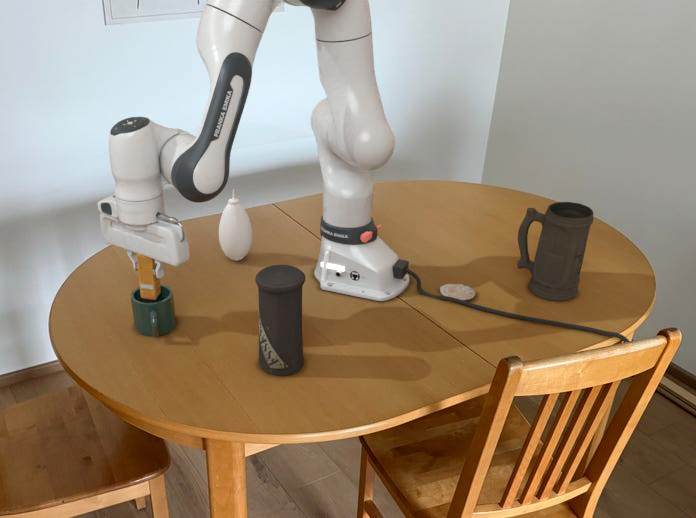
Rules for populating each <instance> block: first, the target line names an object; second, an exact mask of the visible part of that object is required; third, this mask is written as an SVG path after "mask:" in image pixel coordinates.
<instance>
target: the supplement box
mask: <svg viewBox="0 0 696 518" xmlns="http://www.w3.org/2000/svg"><path fill="white" fill-rule="evenodd" d="M137 263H138V271H137V272H138V273H137V274H138V283H139V287H140V293H141V298H144V299H152V300H156V298H157V297H158V296H159V294H160V293H161V289H160V284H161V278H160V279H159V278H156V277H154V276H153V272H152V269H154V268H156V266H157V264H156V263H155V259H152V258H149V257H146V256H143V255H141V254H138V253H137Z"/></svg>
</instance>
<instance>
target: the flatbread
mask: <svg viewBox="0 0 696 518" xmlns="http://www.w3.org/2000/svg"><path fill="white" fill-rule="evenodd" d="M439 292H440V294H441V296H448V297H453V298H457V299H460V300H463V301H468V300H472V299H474V298H475V297H476V290H475V289H474V288H472V287H470V285H466V284H464V283H446V284H444V285H441V286H440V287H439Z"/></svg>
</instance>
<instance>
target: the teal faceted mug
mask: <svg viewBox="0 0 696 518" xmlns="http://www.w3.org/2000/svg"><path fill="white" fill-rule="evenodd" d="M160 289H161V293H160V294H159V296H158V297H157V298H156V300H152V299H144V298H141V293H140V286H139V287H136V288H135V289H133V290H132V291H131V293H130V303H131V308H132V316H133V322H134V327H135V330H136V331H137V333H139V334H141V335H143V336H147V337H153V338H155V339H156V338H159V337H160V336H163V335H166V334H168V333H170V332H172V331H173V330H174V329H175V328H176V326H177V319H176V310H175V302H174V301H175V299H174V293H173V292H174V291H173V289H172V288H171V287H170V286H167V285H165V284H161V283H160Z"/></svg>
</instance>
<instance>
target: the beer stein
mask: <svg viewBox="0 0 696 518" xmlns="http://www.w3.org/2000/svg"><path fill="white" fill-rule="evenodd" d="M534 222H538V223H540V224H541V232H540V235H539V237H538V242H537V247H536V251H535V256H534V260H533V261H532V260H531V259H530V254H529V243H528V242H529V241H528V235H529V229H530V226H531V224H533V223H534ZM593 223H594V211H593V209H592V208H591V207H589V206H587V205H585V204H582V203H580V202H571V201H558V202H557V201H556V202H552V203H551V204H549V205H548V206H547V209H546V211H545V212H544V213H542V212H540V211H538V210H537V209H536V208H535V207H527V209H526V213H525V216H524V218H523V220H522V222H521V223H520V225H519V228H518V232H517V244H518V249H519V254H520V258H519V260H518V261H517V263H516V268H517V269H525V270H528V271H529V272H530V274H531V278H530V280H529V282H528V288H529V291H530V292H531V293H532V294H534V295H535V296H536V297H538V298H541V299H545V300H548V301H555V302H564V301H569V300H572V299H574V298H575V297H577V294H578V289H579V287H578V286H579V284H580V283H581V279H580V276H581V271H582V267H583V262H584V258H585V253H586V247H587V242H588V238H589V234H590V229H591V225H593Z"/></svg>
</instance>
